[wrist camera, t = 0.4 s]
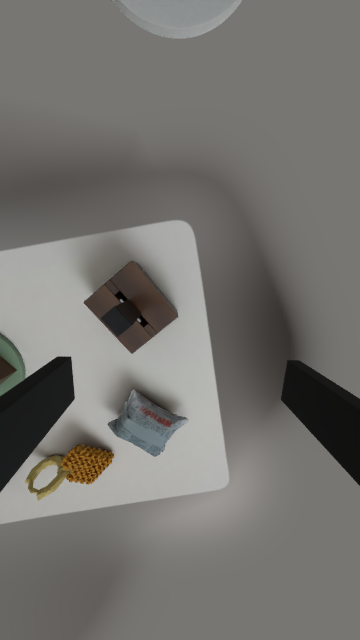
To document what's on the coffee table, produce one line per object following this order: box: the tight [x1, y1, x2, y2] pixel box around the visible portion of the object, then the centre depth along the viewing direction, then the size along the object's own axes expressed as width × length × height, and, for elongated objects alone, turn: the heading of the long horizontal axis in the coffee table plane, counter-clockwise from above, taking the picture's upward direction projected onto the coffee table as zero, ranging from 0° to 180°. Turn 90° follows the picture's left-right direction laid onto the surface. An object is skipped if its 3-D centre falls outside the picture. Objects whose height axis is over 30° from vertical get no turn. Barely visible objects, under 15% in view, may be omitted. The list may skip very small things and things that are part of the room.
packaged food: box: [108, 389, 188, 456], centre depth 34 cm, size 9×12×5 cm
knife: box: [101, 297, 143, 337], centre depth 26 cm, size 2×4×13 cm, turn 39°
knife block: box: [84, 261, 178, 354], centre depth 30 cm, size 9×10×5 cm
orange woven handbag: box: [25, 444, 114, 500], centre depth 35 cm, size 7×10×15 cm
